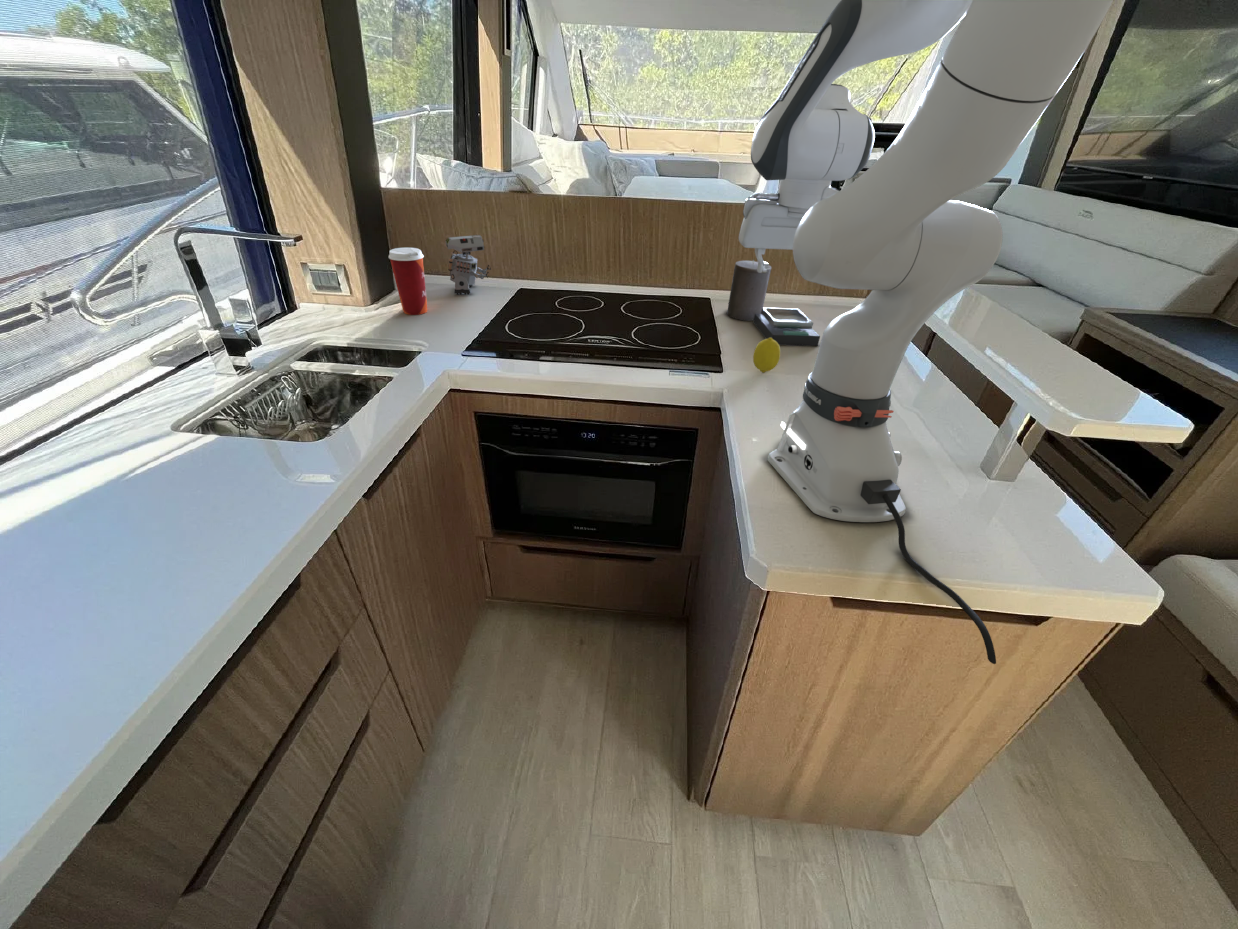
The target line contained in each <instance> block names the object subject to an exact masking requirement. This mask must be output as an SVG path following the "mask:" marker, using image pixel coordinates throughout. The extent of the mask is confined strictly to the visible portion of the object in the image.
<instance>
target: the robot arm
mask: <svg viewBox="0 0 1238 929" xmlns="http://www.w3.org/2000/svg"><path fill="white" fill-rule="evenodd" d="M1113 3H1114V0H840V1H839V2H838V3H836V5H835V7H834V8H833V9H832V11H831V12H830V13H829V15H828V17H826V20H825V21H824V23H823V24H822V26H821V27H820V29H819V30H818V31H817V33H816V35H815V37H814V38H813V40H812V42H811V43H810V44H809V47H808V48H807V50H806V51H805V53H804V54H803V56H802V58H801V59H800V60H799V63H798V64H797V65H796V67H795V69H794V71H792V72H793V73H792V74H791V76H790V77H789V79H788V81H787V82H786V84H785V85H784V87H783V89H782V90H781V92H780V94H779V95H778V97H777V98H776V99H775V101H774V102H773V103H772V105H770V107H769V108H768V109H767V110H766V111H765V113H764V114H763V115H762V117H761V118H760V119H759V122H757V125H756V128H755V130H754V133H753V136H752V140H751V146H750V160H751V163H752V165H753V167H754V168H755V170H756V171H757V172H758V174H759V175H760V176H761V177H762V178H763V179H764V180H765V181H779V184H778V190H777V193H775V192H768V193H767V192H766V193H764V192H763V193H762V192H754V193H753V194H751V195H749V196H748V197H747V198H746V199H745V201H744V204H743V210H742V215H743V219H742V222H741V226H740V229H739V232H738V242H739V244H740V245H741V246H743V248H745V249H754V254H755V257H756V261H757V262H758V266H757V271H758V272H759V273H766V272H767V267H768V265H769V263H768V262H767V261H764V259H763V255H765V254H766V251H767V250H788V251H789V250H792V257H793V261H794V264H795V268H796V270H797V271H798V273H799V275H800V276H801V278H802V279H803V280H805V281H807V282H811V283H813V284H814V283H815V284H818V285H821V286H825V287H829V288H833V289H837V290H863V291H864V290H866V291H867V290H868V291H870V293H869V294H868V295H867V296H866V298H864V299H863V301H861V302H860V303H859V304H858V305H856V306H855V307H854V308H852V309H850V310H848V311H846V312H844V313H842V314H840V315H838V316H837V317H835V318H833V319H832V320H831V321H830V322H829V323H828V324H827V326H826V327H825V329H824V331H823V333H822V336H821V340H820V344H819V347H818V351H817V353H816V354H817V355H816V357H815V362H814V365H813V367H812V368H813V369H812V371H811V372H810V373H809V374H808V376H807V379H806V381H805V383H804V387H803V393H802V401H801V402H800V404H799V405H798V406H797V407H796V409H794V411H792V412H791V414H789V416H788V419H787V422H786V423H785V422H784V421H781V423H780V427H781V428H782V429H783V432H782V434H781V438H780V441H779V444H778V446H777V448H776V449H774V450H772V451H770V452H769V454H768V456H767V461H768V462H769V464H770V465H771V466H772V467H773V468H774V469H775V471H776V472H777V473H778V474H779V475H780V476H781V478H782V479H783V480H784V481H785V482H786V483H787V485H788V486H789V487H790V488H791V489H792V490H793V492H794V493H795V494H796V495H797V496H798V497H799V498H800V499H801V501H802V502H803V503H804V504H805V506H807V507H808V509H809V510H810V511H811V512H812V513H813V514H815V515H818V516H820V517H823V518H827V519H831V520H836V521H840V522H851V523H879V522H880V523H881V522H888V521H893V520H894V521H895V524H896V528H897V533H898V534H897V535H898V547H899V551H900V553H901V555H902V556H903V559H904V560H905V561H906V562H907V563H908V565H910V566H911V567H912V568H913V569H914V570H915V571H917V572H918V573H919V574H920V575H921V576H923V577H924V578H925V579H926V580H927V581H928V582H929V583H931V584H932V585H934V586H935V587H936V588H938V589H939V590H940V591H942V592H943V593H945V594H946V595H948V596H949V597H950V598H951V599H952V600H953V601H954V602H955V603H956V604H957V606H959V607H960V608H961V609H962V610H963V612H964V613H965V614H966V615H967V616H968V617H969V618H970V619H971V620H972V622H973V624H975V626H976V628H977V629H978V630H979V632H980V634H981V637H982V640H983V643H984V646H985V650H986V655H987V656H986V657H987V660H988V662H989V663H991V664H992V665H996V664H997V657H996V651H995V647H994V643H993V640H992V636H991V634H990V631H989V630H988V627H987V626H986V624H985V623H984V621H983V620H982V619H981V617H980V616H979V615H978V614H977V613H976V612H975V610H973V608H972V607H970V605H969V604H968V603H966V601H965V600H964V599H962V597H961V596H960V595H959V594H958V593H957V592H955V591H954V590H953V589H952V588H950V587H949V586H948V585H947V584H944V583H943V582H942V581H940V580H939V579H938V578H936V577H935V576H934V575H933V574H931V573H930V572H929V571H928V570H927V569H925V567H923V566H922V565H921V564H919V562H917V561H916V560H915V559H914V558H913V557H912V556H911V555H910V552H909V551H908V549H907V546H906V531H905V525H904V522H903V520H902V518H901V517H903V516H904V515H905V514H906V511H907V507H906V505H905V503H904V500H903V499H902V496H901V495H900V493H901V491H902V489H901V488H900V487H899V486H898V485H897V482H898V478H899V467H900V466H901V463H902V460H903V456H902V453H901V452H900V451H896V450H895V451H894V447H893V443H892V439H891V432H889V429H888V425H887V424H888V423H887V421H888V420H889V418H890V419H891V418H892V416H891V415H890V414H892V413H894V410H892V409H890V407H891V405H892V400H891V399H892V398H891V397H892V390H891V387H892V385H893V382H894V380H895V377H896V375H897V372H898V370H899V368H900V365H901V363H902V361H903V358H904V357H905V354H906V352H907V350H908V348H909V346H910V345H911V343H912V341H913V339H914V337H915V336H916V335H917V333H918V332H919V331H920V329H921V328H922V327H923V326H924V325H925V324H926V322H928V320H929V319H930V318H931V317H932V315H934V314H935V313H936V312H937V311H938V310H939V309H940V308H941V307H942V306H943V305H944V304H945V303H947V302H948V301H949V300H950V299H952V298H953V297H954V296H956V295H958V294H959V293H961V292H962V291H964V290H967V288H969V287H971V286H973V285H975V284H977V283H979V282H980V281H981V280H982V279H983V278H985V277H986V275H987V274H988V273H989V272H990V271H991V269H992V268H993V266H994V265H995V263H996V262H997V260H998V258H999V255H1000V253H1001V250H1002V246H1003V227H1002V223H1001V221H1000V219H999V217H998V215H997V214H996V213H995V212H993V211H992V210H989V209H987V208H983V207H980V206H978V205H976V204H971V203H968V202H965V201H960V200H953V199H955V198H957V197H959V196H961V195H964V194H966V193H969V192H972V191H974V190H975V189H977V188H979V187H981V186H983V185H985V184H987V183H988V182H989V181H991V180H992V179H993V178H995V177H996V176H997V175H998V174H999V173H1000V172H1001V171H1003V169H1004V168H1005V167H1006V166H1007V165H1008V162H1009V161H1010V160H1011V158H1012V157H1013V156H1014V155H1015V153H1016V152H1017V150H1018V149H1019V147H1020V146H1021V144H1023V142H1024V140H1025V139H1026V138H1027V136H1028V135H1029V133H1030V132H1031V131H1032V129H1033V127H1034V126H1035V125H1036V124H1037V122H1038V121H1039V119H1040V118H1041V116H1042V115H1043V113H1044V112H1045V111H1046V110H1047V108H1048V107H1049V105H1050V104H1051V102H1052V101H1053V99H1054V98H1055V97H1056V95H1057V94H1058V93H1059V91H1060V89H1061V88H1062V87H1063V85H1064V83H1065V82H1066V81H1067V79H1068V78H1069V76H1070V75H1071V74H1072V71H1073V70H1075V67H1076V65H1077V64H1078V62H1079V61H1080V59H1081V58H1082V56H1083V55H1084V53H1085V52H1086V50H1087V48H1088V47H1089V45H1090V43H1091V41H1092V40H1093V39H1094V36H1095V35H1096V33H1097V31H1098V30H1099V29H1100V26H1101V24H1102V23H1103V21H1104V19H1105V17H1106V15H1107V13H1108V12H1109V9H1110V8H1111V6H1112V4H1113ZM958 24H959V25H958ZM957 25H958V27H957V28H956V30H955V32H954V34H953V35H952V38H951V39H950V41H949V44H948V45H947V47H946V49H945V50H944V53H943V54H942V57H941V59H940V60H939V62H938V64H937V65H936V68H935V70H934V72H933V74H932V76H931V77H930V80H929V81H928V83H927V85H926V86H925V89H924V90H923V93H922V94H921V96H920V98H919V100H918V101H917V103H916V105H915V107H914V109H913V110H912V112H911V114H910V116H909V118H908V119H907V121H906V123H905V124H904V126H903V128H902V129H901V130H900V132H899V134H898V135H897V136H896V138H895V139H894V140H893V142H892V143H891V144H890V146H889V147H888V148H887V149H886V150H885V151H884V152H883V153H882V154H881V156H880V157H879V158H878V159H877V160H876V161H875V162H874V163H873V164H872V165H871V166H869V168H867V170H865V171H864V172H863V173H862V174H861V175H860V176H858V177H857V178H856V179H855V180H853V181H852V182H850V183H849V184H848V185H846V186H845V187H844V188H842V189H841V190H840V189H838V188H836V187H833V186H831V185H832V182H840V181H846V180H851V179H852V178H854V177H856V175H858V174H859V173H860V172H861V171H862V170H863V169H864V168H865V166H866V165H867V164H868V162H869V160H870V157H871V155H872V151H873V148H874V143H875V138H876V132H875V128H874V125H873V123H872V120H871V119H870V117H869V116H868V115H867V114H866V113H862V112H860V111H859V110H858V109H857V108H855V106H854V105H853V104H852V103H851V91H850V89H849V88H848V87H847V86H844V85H843V84H837V83H834V82H835V81H836V80H837V79H838V78H840V77H841V76H843V75H845V74H846V73H848V72H849V71H852V70H854V69H856V68H859V67H862V66H864V65H867V64H870V63H873V62H878V61H881V60H885V59H890V58H894V57H899V56H905V55H909V54H912V53H913V54H914V53H917V52H919V51H921V50H924V49H926V48H928V47H931V46H932V45H934V44H936V43H938V42H939V41H940V40H942V39H943V38H945V37H946V36H947V35H948V34H949V33H950V32H951V31H952V30H953V29H954V28H955V27H956V26H957ZM766 249H767V250H766Z"/></svg>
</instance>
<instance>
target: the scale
mask: <svg viewBox="0 0 1238 929" xmlns="http://www.w3.org/2000/svg"><path fill="white" fill-rule="evenodd" d="M752 323H753V325H754V326H755V327H756V328H757V329H758V331H759V332H760V333H761V334H762V336H763V337H764V339H768V338H772V339H773V340H775V341H776V342H777V343H778V344H779V346H802V347H803V346H804V347H805V346H808V347H809V346H810V347H818V346H819V342H820V339H821V335H820V334H819V333H817V332H816V330H814V329H813V328H812V329H803V328H773V327H772V326H771V325H770V323H769V322H768V321H767V320H766V319H765V318H764V316H763V315H762V314H755V317H754V320H753V322H752Z"/></svg>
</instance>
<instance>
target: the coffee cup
mask: <svg viewBox="0 0 1238 929" xmlns="http://www.w3.org/2000/svg"><path fill="white" fill-rule="evenodd" d="M424 257H425V255H424V254H423V252H422V250H421V249H419V248H417V247H395V248H392V249H390V250H389V254H388V259H389V260H390V263H391V268H392V273H393V277H394V280H395V285H396V289H397V292H398V293H397V294H398V297H399V301H400V304H401V309H402V311H403V312H402V313H404V314H405V315H408V316H409V315H410V316H418V315H420V316H421V315H423V314H424V315H425V314H426V313H427V312H428V300H427V290H426V289H427V288H426V277H425V268H424Z"/></svg>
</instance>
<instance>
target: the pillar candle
mask: <svg viewBox="0 0 1238 929" xmlns="http://www.w3.org/2000/svg"><path fill="white" fill-rule="evenodd" d="M757 266H758V261H755V260H754V259H752V260H738V261H736V262H735V264H734V269H733V273H732V281H731V287H730V292H729V299H728V303H727V304H728V305H727V311H726V315H727V316H728V317H729V318H731V319H736V320H739V321H749V322H750V321H753V322H754V317H755V314H761V310H762V308H764V305H765V301H766V295H767V289H768V286H769V281H770V276H771V272H772V266H771V265H770V264H768V267H767V272H766V273H759V272H758V271H757Z"/></svg>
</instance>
